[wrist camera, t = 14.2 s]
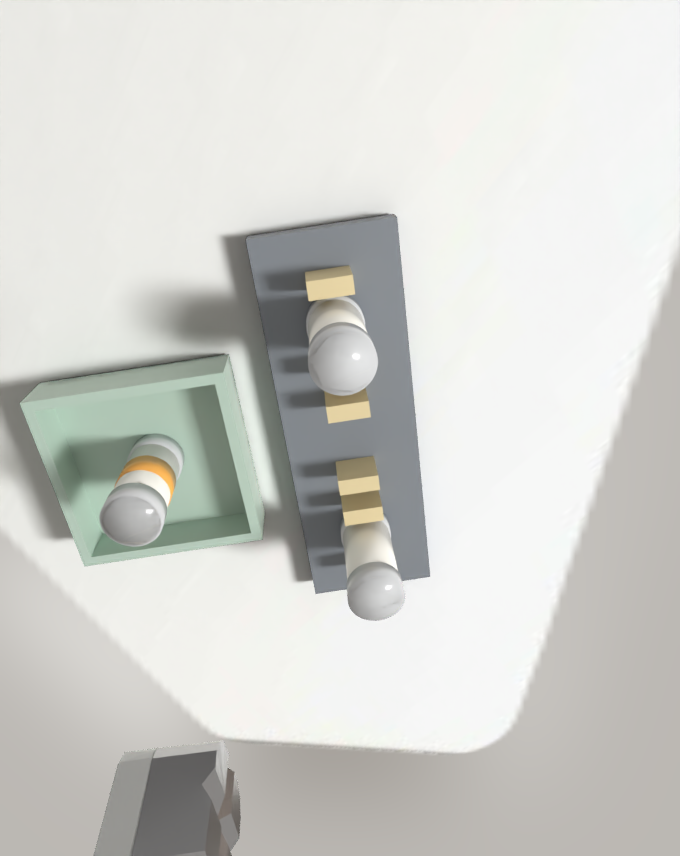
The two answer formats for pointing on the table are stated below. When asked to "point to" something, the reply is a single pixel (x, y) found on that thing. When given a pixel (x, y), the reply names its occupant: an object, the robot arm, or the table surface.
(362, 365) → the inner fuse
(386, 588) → the outer fuse
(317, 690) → the table surface
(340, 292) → the fuse holder
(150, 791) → the robot arm
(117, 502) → the marked fuse
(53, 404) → the parts tray
